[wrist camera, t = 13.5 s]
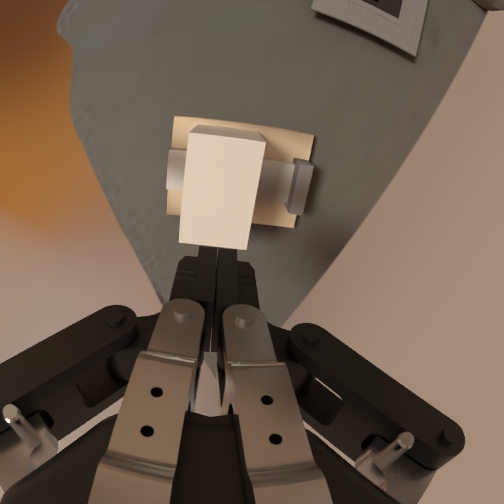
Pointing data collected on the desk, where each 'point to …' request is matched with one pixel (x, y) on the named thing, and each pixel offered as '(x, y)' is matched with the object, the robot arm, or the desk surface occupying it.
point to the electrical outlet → (380, 18)
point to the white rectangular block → (220, 185)
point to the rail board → (271, 176)
